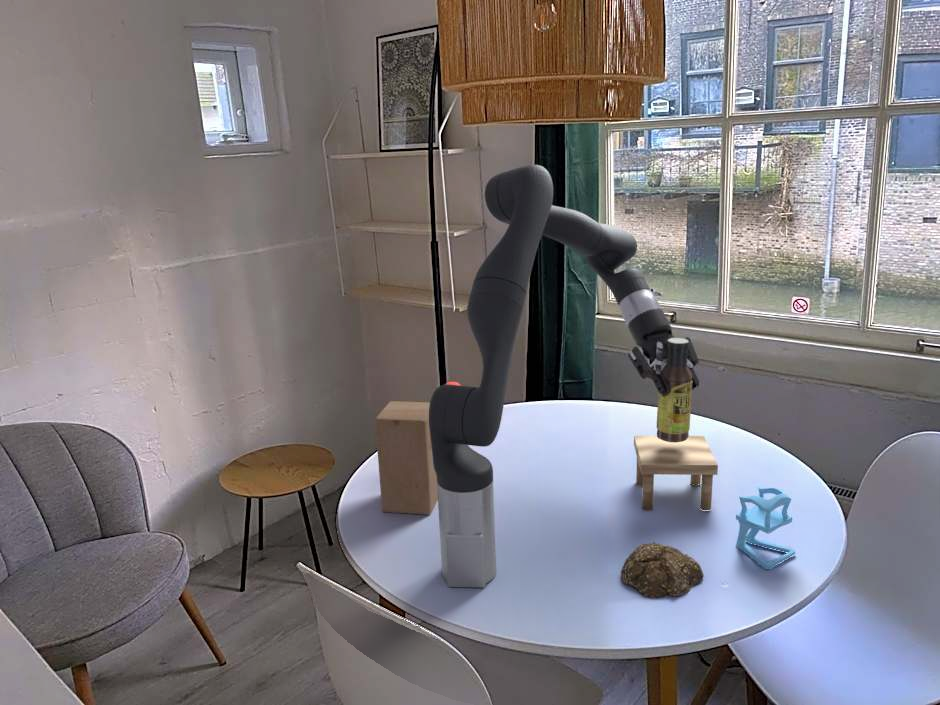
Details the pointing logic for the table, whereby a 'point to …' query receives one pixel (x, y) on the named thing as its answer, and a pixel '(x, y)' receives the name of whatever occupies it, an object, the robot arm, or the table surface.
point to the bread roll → (660, 571)
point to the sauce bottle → (675, 394)
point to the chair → (763, 523)
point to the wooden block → (406, 458)
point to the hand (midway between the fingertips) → (681, 390)
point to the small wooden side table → (674, 465)
